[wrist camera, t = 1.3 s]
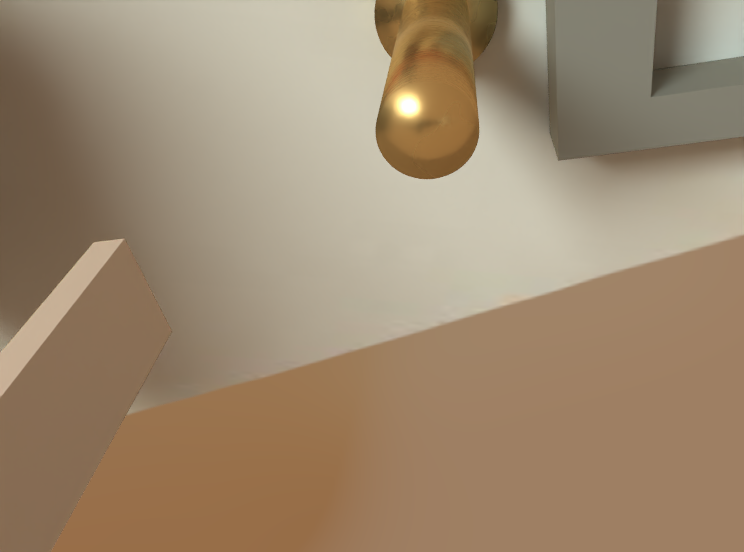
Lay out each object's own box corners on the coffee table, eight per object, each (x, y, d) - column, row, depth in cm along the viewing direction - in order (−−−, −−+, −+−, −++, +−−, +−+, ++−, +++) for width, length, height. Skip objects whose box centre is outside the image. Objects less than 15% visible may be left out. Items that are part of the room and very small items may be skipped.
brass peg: (388, 77, 31) (353, 225, 20) (366, -44, 28) (310, 52, 17) (500, 59, 30) (530, 204, 19) (491, -69, 27) (519, 15, 16)
